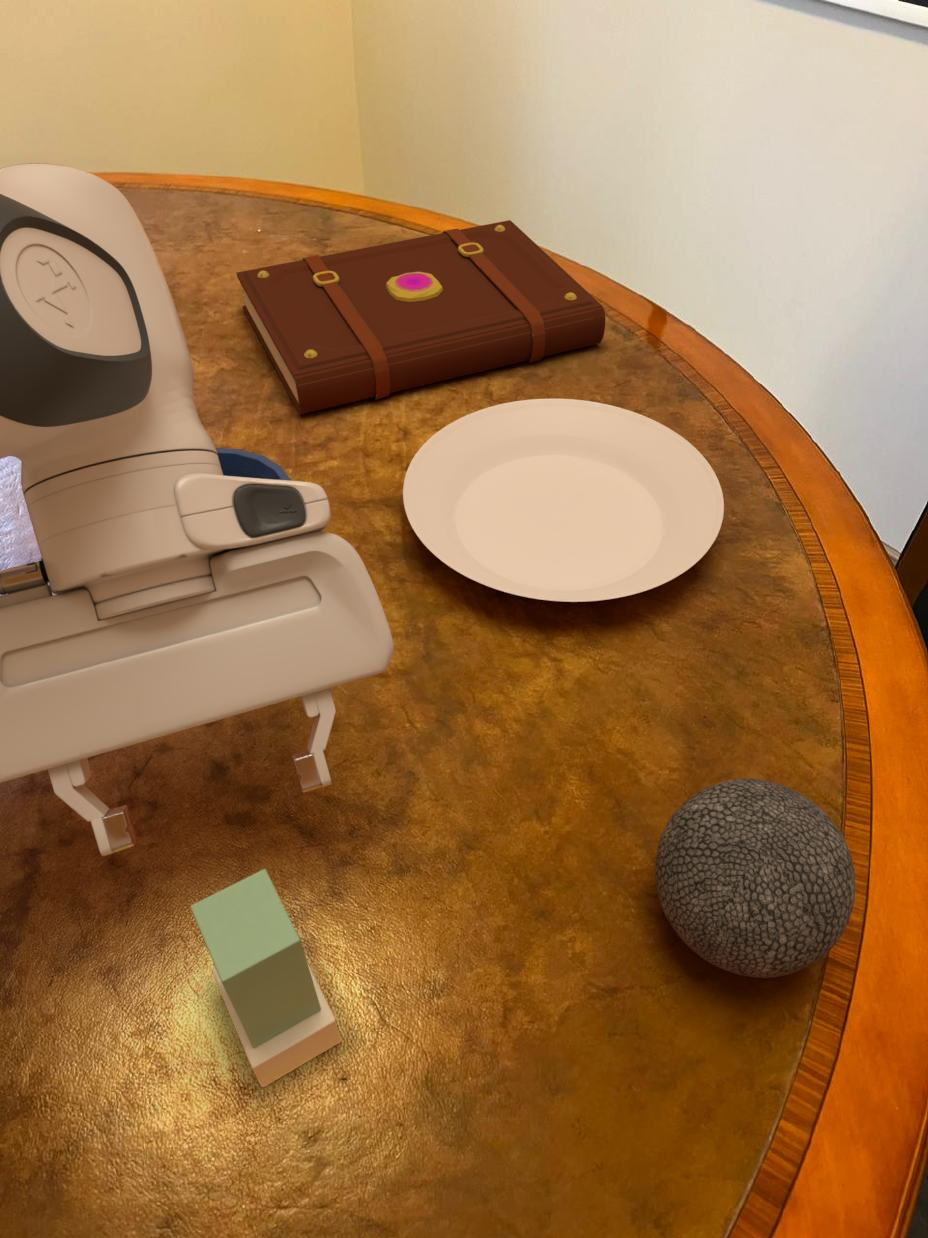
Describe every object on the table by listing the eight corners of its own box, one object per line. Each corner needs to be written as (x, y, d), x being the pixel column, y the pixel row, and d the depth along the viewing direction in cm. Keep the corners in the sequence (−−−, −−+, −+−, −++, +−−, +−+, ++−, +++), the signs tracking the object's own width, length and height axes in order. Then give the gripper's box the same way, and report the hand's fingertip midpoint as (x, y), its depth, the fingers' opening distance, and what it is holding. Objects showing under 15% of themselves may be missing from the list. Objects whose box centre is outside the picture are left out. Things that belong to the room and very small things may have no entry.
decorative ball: (700, 809, 57) (733, 710, 50) (854, 908, 53) (916, 814, 45) (608, 928, 52) (631, 836, 45) (771, 1049, 47) (826, 968, 40)
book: (242, 309, 100) (234, 264, 96) (508, 255, 108) (509, 212, 105) (303, 422, 86) (295, 374, 82) (603, 349, 94) (609, 303, 90)
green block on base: (262, 1089, 46) (219, 1004, 38) (222, 992, 50) (174, 895, 42) (342, 1042, 48) (316, 950, 40) (298, 951, 51) (266, 850, 43)
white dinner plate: (524, 688, 64) (527, 654, 61) (350, 495, 78) (345, 461, 76) (781, 551, 73) (793, 516, 71) (583, 402, 88) (587, 368, 85)
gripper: (-124, 590, 38) (-28, 910, 39) (356, 478, 43) (432, 764, 44) (-76, 595, 44) (7, 871, 45) (340, 496, 49) (407, 747, 50)
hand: (220, 817), depth 44 cm, fingers open, 8 cm apart
